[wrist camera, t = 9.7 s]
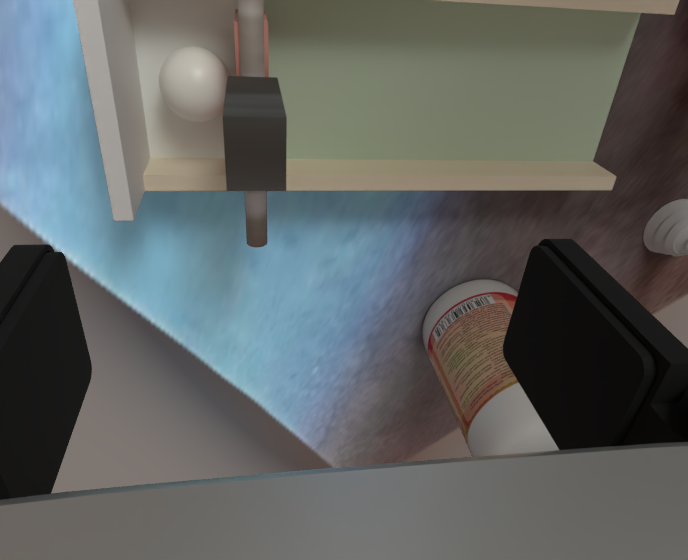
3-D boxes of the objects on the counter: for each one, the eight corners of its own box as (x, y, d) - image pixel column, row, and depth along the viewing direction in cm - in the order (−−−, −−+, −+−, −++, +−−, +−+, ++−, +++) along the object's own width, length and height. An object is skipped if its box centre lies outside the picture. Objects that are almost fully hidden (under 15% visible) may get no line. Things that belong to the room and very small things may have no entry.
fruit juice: (433, 272, 43) (651, 660, 20) (537, 277, 45) (845, 636, 22) (409, 361, 48) (562, 755, 25) (503, 362, 50) (727, 728, 27)
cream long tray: (107, -47, 29) (65, -42, 22) (638, -11, 34) (734, 2, 27) (138, 166, 35) (113, 220, 28) (581, 169, 40) (648, 215, 34)
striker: (224, -82, 27) (210, -95, 16) (271, -79, 28) (287, -89, 17) (237, 203, 36) (234, 319, 25) (273, 202, 36) (285, 317, 25)
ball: (242, 45, 30) (179, 38, 31) (209, 56, 27) (139, 47, 28) (244, 116, 32) (185, 107, 33) (214, 134, 29) (149, 124, 30)
